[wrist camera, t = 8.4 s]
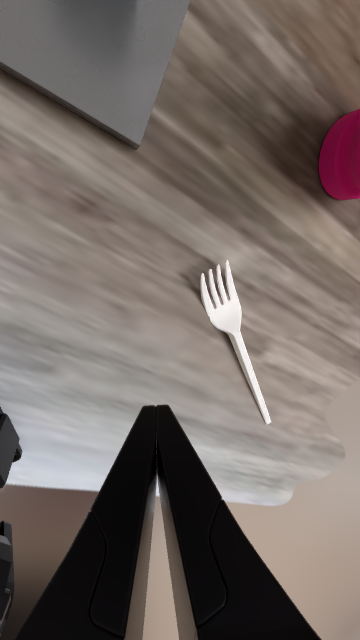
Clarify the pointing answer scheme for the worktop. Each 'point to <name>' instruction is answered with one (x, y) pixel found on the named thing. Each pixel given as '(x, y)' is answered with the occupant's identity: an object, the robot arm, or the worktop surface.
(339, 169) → the pepper mill
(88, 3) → the grey long blocky piece
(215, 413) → the worktop surface
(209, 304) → the fork
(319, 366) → the worktop surface
